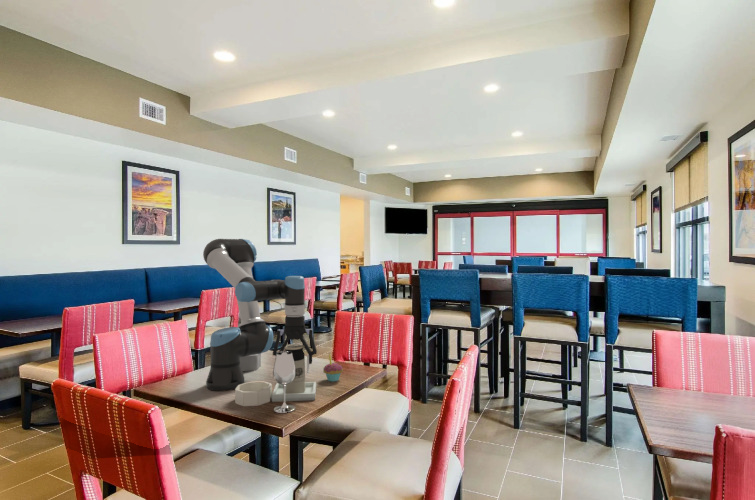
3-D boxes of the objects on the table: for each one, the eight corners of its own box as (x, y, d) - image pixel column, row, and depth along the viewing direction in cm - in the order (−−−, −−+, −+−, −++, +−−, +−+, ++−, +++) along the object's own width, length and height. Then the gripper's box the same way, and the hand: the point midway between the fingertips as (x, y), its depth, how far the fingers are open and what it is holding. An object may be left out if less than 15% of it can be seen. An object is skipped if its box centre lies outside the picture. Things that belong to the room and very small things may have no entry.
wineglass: (287, 414, 143) (287, 356, 143) (268, 411, 146) (268, 354, 146) (299, 406, 150) (299, 351, 150) (281, 403, 153) (281, 349, 153)
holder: (232, 406, 150) (232, 392, 150) (240, 394, 163) (240, 381, 163) (268, 405, 152) (268, 391, 152) (273, 393, 164) (273, 380, 164)
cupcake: (330, 384, 175) (330, 355, 175) (319, 379, 182) (319, 352, 182) (346, 380, 181) (346, 352, 181) (335, 375, 187) (335, 349, 187)
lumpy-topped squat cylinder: (256, 371, 195) (256, 352, 195) (228, 371, 195) (228, 352, 195) (262, 365, 205) (262, 347, 205) (235, 365, 205) (235, 347, 205)
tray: (271, 401, 155) (271, 395, 155) (276, 389, 169) (276, 383, 169) (314, 400, 157) (314, 393, 157) (316, 387, 171) (316, 381, 171)
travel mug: (283, 389, 165) (282, 344, 165) (303, 386, 168) (302, 342, 167) (286, 396, 158) (285, 349, 157) (307, 393, 160) (306, 347, 160)
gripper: (264, 317, 158) (264, 376, 158) (323, 316, 160) (323, 374, 160) (267, 314, 165) (267, 370, 165) (323, 313, 168) (323, 368, 168)
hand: (294, 372), depth 163 cm, fingers open, 9 cm apart
